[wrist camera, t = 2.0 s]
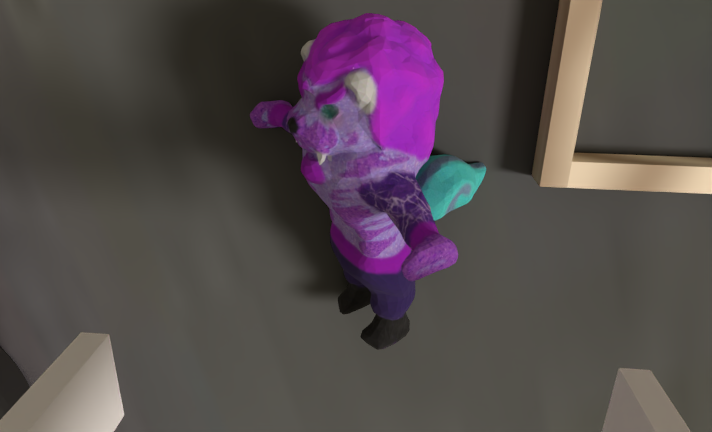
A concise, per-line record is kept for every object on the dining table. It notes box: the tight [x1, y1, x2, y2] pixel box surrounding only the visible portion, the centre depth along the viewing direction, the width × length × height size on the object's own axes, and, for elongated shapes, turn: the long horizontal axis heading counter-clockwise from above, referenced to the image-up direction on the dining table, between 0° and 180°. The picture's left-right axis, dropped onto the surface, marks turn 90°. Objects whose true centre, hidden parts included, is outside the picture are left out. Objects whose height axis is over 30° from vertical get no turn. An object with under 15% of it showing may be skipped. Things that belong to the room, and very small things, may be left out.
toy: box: [250, 13, 486, 350], centre depth 23 cm, size 12×10×15 cm
